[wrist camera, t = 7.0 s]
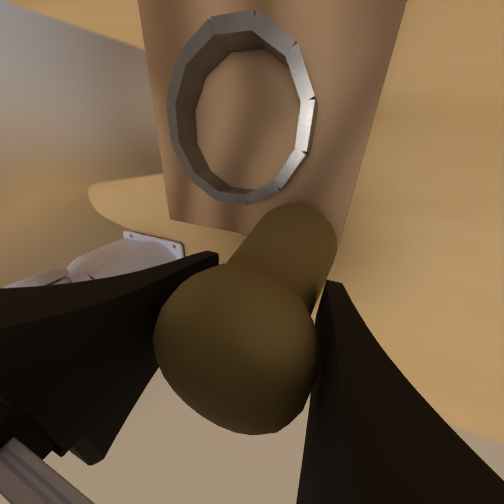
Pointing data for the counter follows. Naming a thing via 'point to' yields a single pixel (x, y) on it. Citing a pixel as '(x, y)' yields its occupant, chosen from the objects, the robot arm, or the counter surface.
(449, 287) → the counter surface
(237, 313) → the cork
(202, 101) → the walnut mat
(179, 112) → the collar
